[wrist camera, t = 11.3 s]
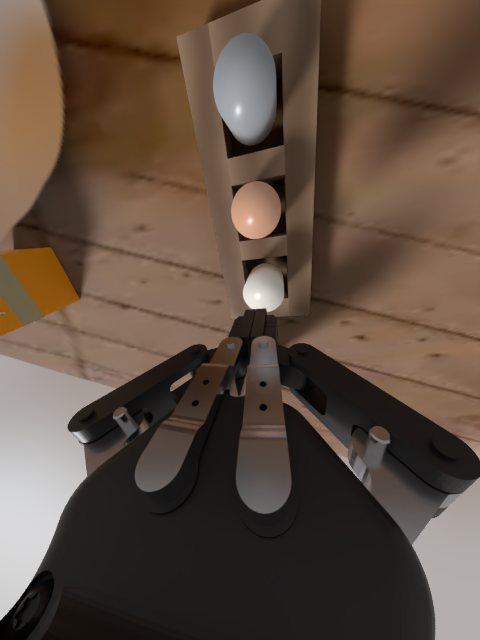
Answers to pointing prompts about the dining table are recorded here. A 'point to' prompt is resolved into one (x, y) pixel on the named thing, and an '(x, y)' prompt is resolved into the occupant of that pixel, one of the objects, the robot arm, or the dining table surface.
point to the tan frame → (267, 165)
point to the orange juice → (31, 287)
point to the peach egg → (256, 210)
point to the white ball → (264, 287)
